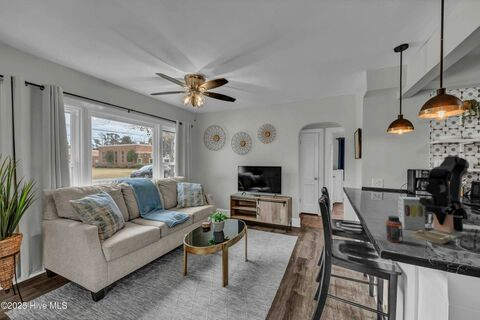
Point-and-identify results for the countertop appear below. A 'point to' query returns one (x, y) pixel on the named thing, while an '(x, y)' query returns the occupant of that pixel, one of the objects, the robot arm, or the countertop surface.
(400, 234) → the supplement bottle
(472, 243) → the countertop surface
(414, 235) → the wooden frame
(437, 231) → the pad
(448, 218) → the part block
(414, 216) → the supplement box
